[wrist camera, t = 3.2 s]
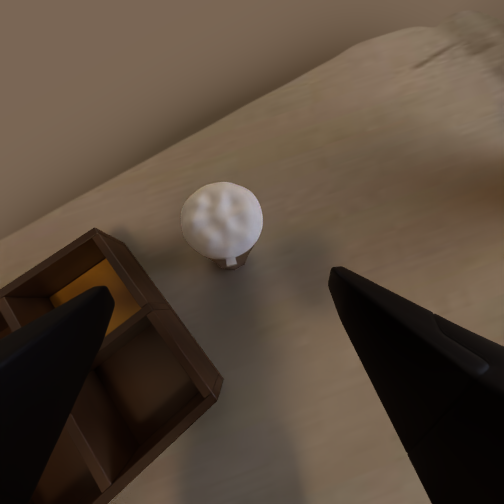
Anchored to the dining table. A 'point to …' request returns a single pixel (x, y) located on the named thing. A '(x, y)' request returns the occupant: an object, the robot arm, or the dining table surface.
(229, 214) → the milkshake
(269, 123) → the dining table surface
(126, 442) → the organiser
